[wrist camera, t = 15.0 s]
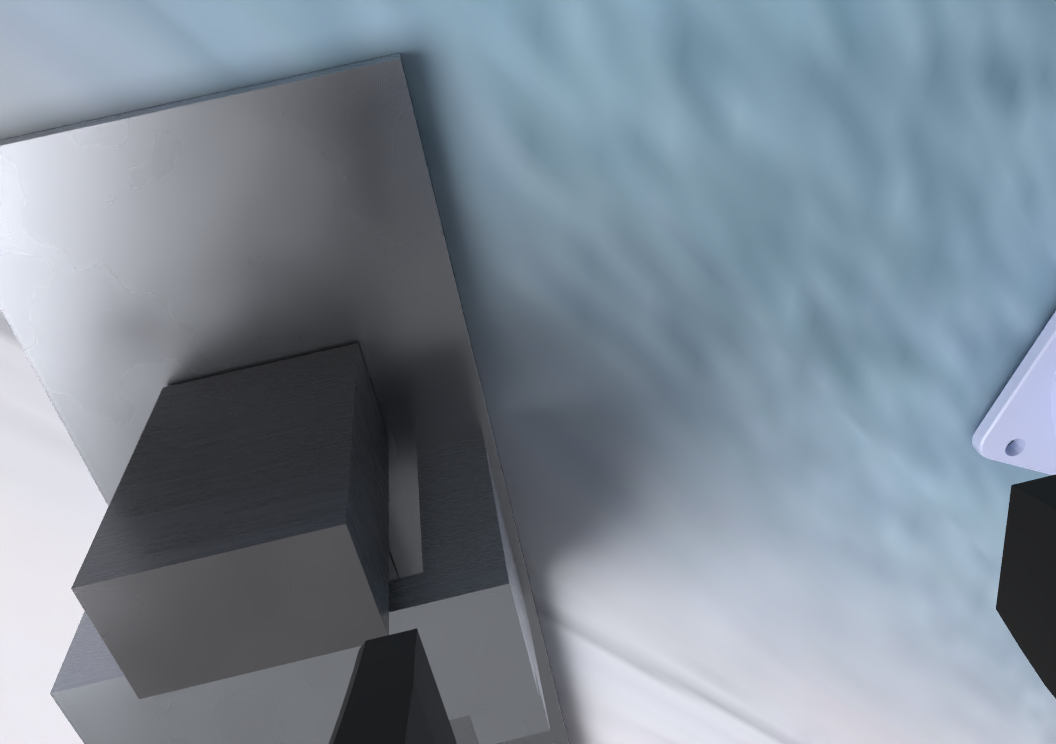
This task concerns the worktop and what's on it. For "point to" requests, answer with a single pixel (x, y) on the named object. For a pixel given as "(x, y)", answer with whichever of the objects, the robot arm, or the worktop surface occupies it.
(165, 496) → the dark gray rectangular block
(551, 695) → the socket
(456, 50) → the worktop surface
